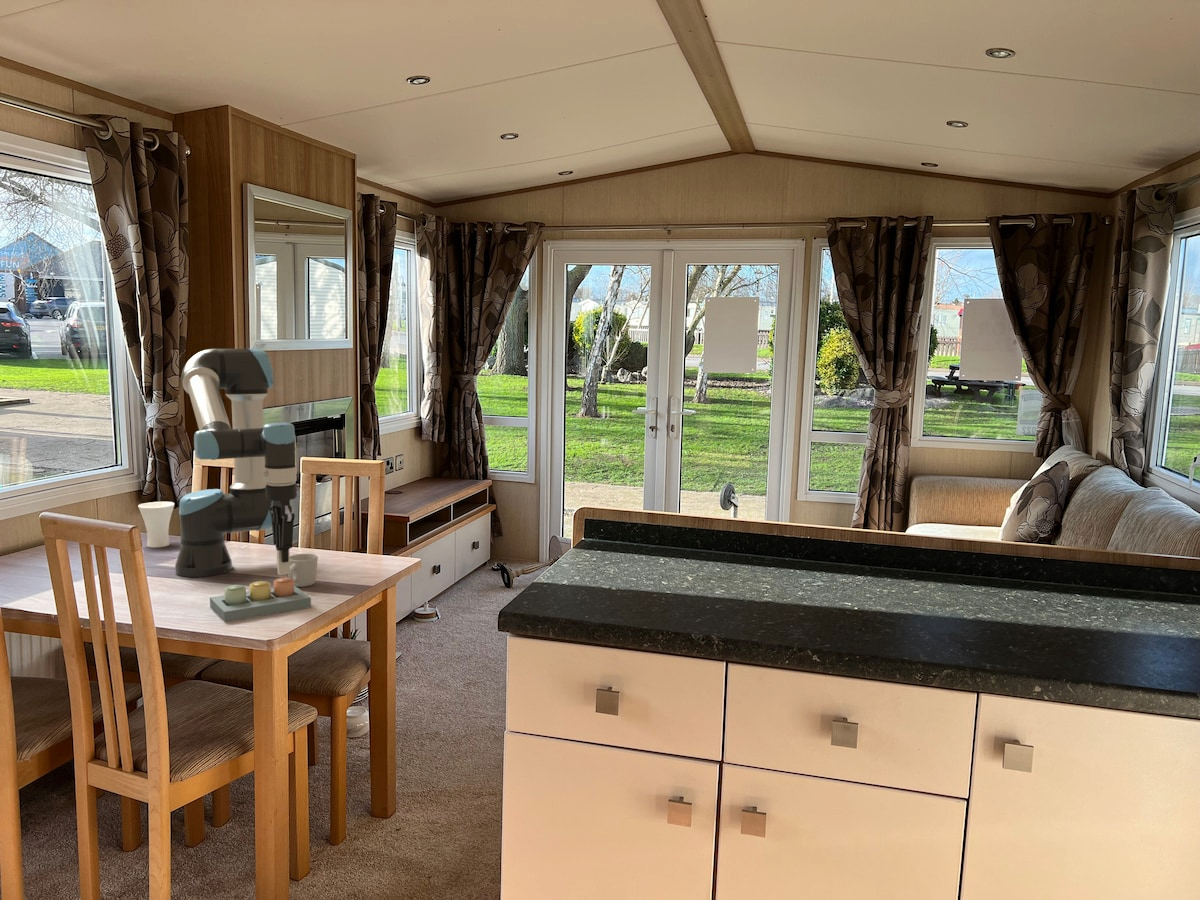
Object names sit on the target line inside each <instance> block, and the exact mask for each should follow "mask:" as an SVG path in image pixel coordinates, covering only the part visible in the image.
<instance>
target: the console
mask: <svg viewBox="0 0 1200 900" xmlns="http://www.w3.org/2000/svg"><path fill="white" fill-rule="evenodd" d="M246 600H247V602H246V603H243V604H237V605H231V606H227V605H225V594H223V595H217V596H210V597H209V605H210V607H209V608H210V609H211V610H212V611H213V612H214V613H215V614H216V615H217V616H218V617H219V618H220V619H221V620H222V622H224V623H227V622H234V621H239V620H245V619H251V618H258V617H263V616H268V615H274V614H279V613H281V614H282V613H286V612H291V611H297V610H303V609H309V608H312V605H311V604H312V601H311V597H310V595H308V594H307V593H305V592H304V591H302V590H301V589H300V588H299V587H296V586H294V595H292V596H286V597H280V598H276V597H275V596H274V586H273V587H271V599H268V600H262V601H256V602H253V601H250V590H249V591H247V590H246Z"/></svg>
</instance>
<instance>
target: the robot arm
mask: <svg viewBox="0 0 1200 900" xmlns="http://www.w3.org/2000/svg"><path fill="white" fill-rule="evenodd" d="M180 378H181V384H182V387H183V389H184V391H185V392H186V394H188V395H189V397H190V402H191V405H192V409H193V412H194V417H195V419H196V423H197V428H198V430H197V431H195V432H194V434H193V447H194V454H195V457H196V458H197V459H198V460H212V461H215V460H226V459H227V460H228V459H229V460H230V459H233V461H234V462H233V463H234V464H233V465H234V482H233V483H232V484H231V485H230V486H229V493H224V492H223V490H222V489H219V488H212V489H211V488H209V489H202V490H197V491H192V492H190V493H187V494H184V496H183V495H182V497H181V498H180V500H179V511H178V515H179V523H180V549H179V552H178V554H177V555H178V556H177V558H176V561H175V566H174V567H175V568H174V570H175V574H176V575H178V576H181V577H189V578H191V577H192V578H195V577H196V578H199V577H200V578H201V577H210V576H216V575H220V574H224V573H226V572H230V571H231V570H232V569H233V561H232V558H231V556H230V553H229V550H228V548H227V544H226V542H225V541H226V539H225V534H231V533H232V534H233V533H242V532H243V533H244V532H251V531H252V532H253V531H256V532H259V531H262V530H270V529H272V538H273V541H272V542H273V544H274V545H275V551H276V563H277V564H276V565H277V568H276V569H277V575H279V576H281V575H288V574H290V557H289V556H290V549H292V548H293V540H294V538H293V537H294V521H295V516H296V515H295V513H292V511H293V508H292V506H291V501H292V500H295V499H296V498H297V495H298V494H297V491H298V490H297V487H298V486H297V484H296V482H297V466H296V463H297V462H296V458H297V457H296V438H297V436H296V434H295V433H296V432H295V425H294V424H292V423H291V422H270V423H269V422H268V423H265V424H264V405H263V404H264V403H263V400H264V399H265V398H266V397H267V396H268V389H269V390H270V389H272V388H273V387H274V371H273V367H272V363H271V360H270V357H269V354H268V353H267V352H265V350H263V349H257V348H256V349H255V348H250V347H249V348H208V349H204V350H200V351H199V352H197V353H196V354H194V355H193V356H192V357H190V359H188V360H187V362H186V363H185V364H184V367H183V368H182V372H181V377H180ZM220 390H224V393H225V396H226V397H227V398H228V399H229V400H230V401H231V415H232V416H231V418H232V419H231V420H232V421H231V422H232V427H231V424H230V421H229V417H228V415H227V412H226V409H225V405H224V402H223V399H222V396H221V392H220Z"/></svg>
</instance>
